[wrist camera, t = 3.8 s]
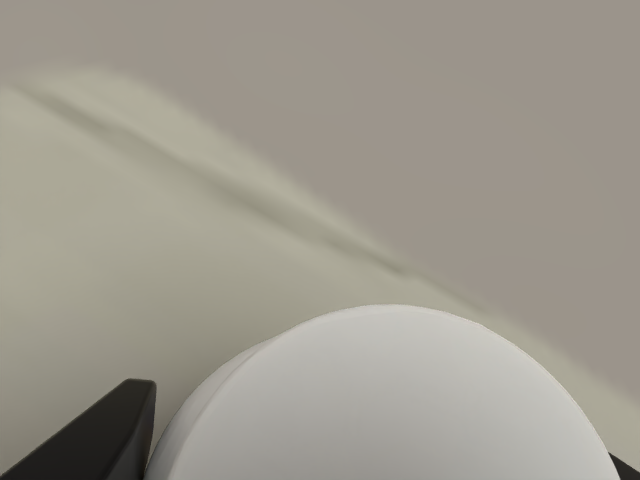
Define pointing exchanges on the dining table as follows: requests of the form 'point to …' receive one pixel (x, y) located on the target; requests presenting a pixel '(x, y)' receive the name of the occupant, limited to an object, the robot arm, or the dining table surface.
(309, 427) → the pill bottle
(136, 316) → the dining table surface
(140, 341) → the dining table surface
